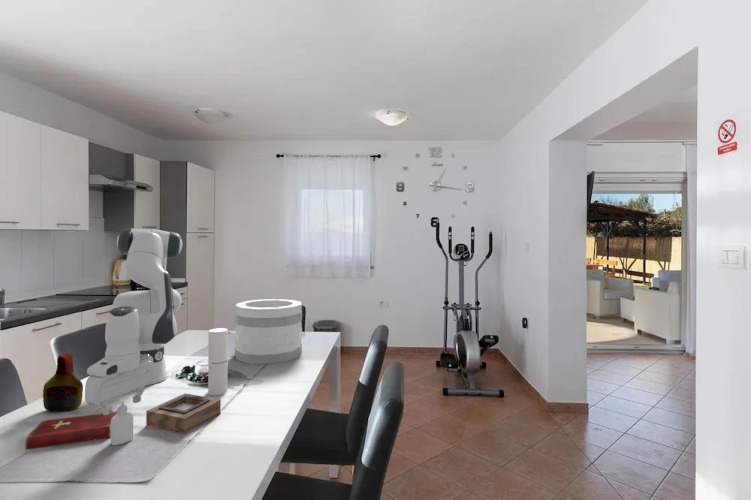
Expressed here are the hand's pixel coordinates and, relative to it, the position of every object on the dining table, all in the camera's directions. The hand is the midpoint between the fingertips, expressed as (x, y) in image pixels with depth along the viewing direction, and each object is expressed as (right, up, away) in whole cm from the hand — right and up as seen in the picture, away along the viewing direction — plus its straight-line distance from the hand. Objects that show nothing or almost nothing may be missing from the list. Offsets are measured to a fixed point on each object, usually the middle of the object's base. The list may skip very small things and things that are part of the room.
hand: (122, 407), depth 118 cm
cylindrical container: (+12, -10, +40) cm, 43 cm away
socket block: (+11, -10, +15) cm, 22 cm away
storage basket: (+18, -9, +94) cm, 97 cm away
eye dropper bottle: (0, -11, 0) cm, 11 cm away
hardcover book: (-17, -11, +4) cm, 21 cm away
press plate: (+11, -7, +15) cm, 20 cm away
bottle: (-35, -10, +22) cm, 43 cm away
